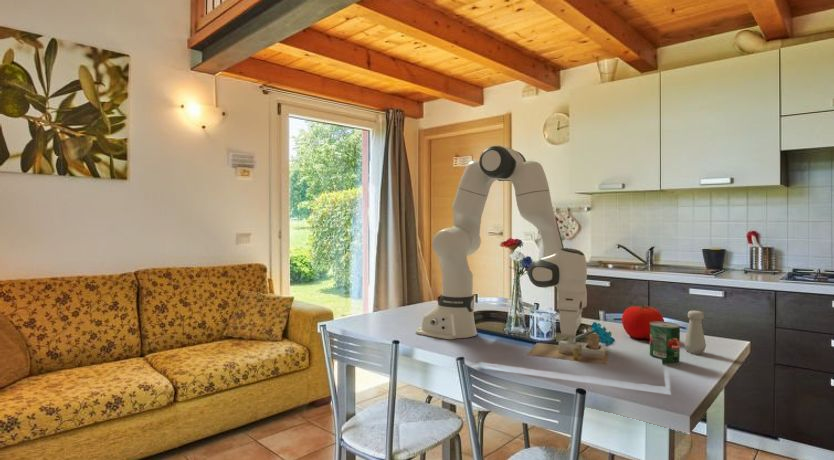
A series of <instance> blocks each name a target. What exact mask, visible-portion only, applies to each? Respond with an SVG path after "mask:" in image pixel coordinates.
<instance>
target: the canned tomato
mask: <svg viewBox="0 0 834 460" xmlns="http://www.w3.org/2000/svg"><path fill="white" fill-rule="evenodd" d="M680 332H681V325H680V324H678V323H675V322H670V321H664V322H662V321H655V322H650V338H649V356H650V357H652V358H655V359H659V360H661V362H662V363H661V364H662V365H666V366H676V365H680V363H681V362H680V357H681V356H680V355H681V353H680V352H681V351H680V349H681V348H680V347H681V346H680V345H681V339H680V338H681V333H680Z"/></svg>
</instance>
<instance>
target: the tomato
mask: <svg viewBox="0 0 834 460" xmlns="http://www.w3.org/2000/svg"><path fill="white" fill-rule="evenodd" d="M655 321H662V322H665V319H664V317H663V315H662V314H661V312H660V311H659V310H658V309H656V308H654V307H652V306H648V305H644V304H642V305H634V306H628V308H625V310H624V311H623V314H622V315H621V324H622V327H623V329H624V331H625V332H626V333H627V335H629V337H631V338H634V339H639V340H642V339H644V340H645V339H650V322H655Z"/></svg>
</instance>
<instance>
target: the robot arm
mask: <svg viewBox="0 0 834 460" xmlns="http://www.w3.org/2000/svg"><path fill="white" fill-rule="evenodd" d="M495 181H499V182H504V181H505V182H506V181H507V182H511V183H512V185H513V188H514V195H515V201H516V205H517V206H516V207H517V209H518V211H519V214H520V216H521V217H522V218H523V219H524V221H527V222H529V223H530V224H531V225H533V226H534V227H535V228H536V229H537V230H538V232H539V233H540V234H539V235H540V237H541V241H542V245H543V249H544V254H545V257H540V258H537V259H535V260H533V261H532V262H531V263H530V264H529V266H528V269H527V275H528V279H529V281H530V282H531V284H533V286H535V287H538V288H542V289H546V288H552V287H555V288H556V294H557V295H556V296H557V297H556V302H557V305H556V308H557V310H559V311H558V313H559V327H560V328H559V329H560V333H561V336H564V337H567V341H571V342H576V336H577V331H578V329H579V327H580V326H581V324H582V312H583V309H584V308H586V307H587V306H588V305H587V304H588V303H587V302H588V300H587V299H588V298H587V297H588V290H587V287H586V282H587V278H588V269H587V260H586V256H585V254H584V252H583V251H581V250H578V249H575V248H569V247H564V243H563V240H562V235H561V232H560V228H559V224H558V220H557V218H556V214H555V211H554V207H553V202H552V198H551V193H550V186H549V182H548V179H547V175H546V173H545V170H544V168H543V165H542V164H541V163H540V162H537V161H536V160H535V161H534V160H526V158H525V156H524V155H523V154H522V153H520V152H519V151H517V150H516V149H515V150H514V149H513V148H510V147H505V146H501V145H491V146H489V147H487V148H486V149H484V150H483V151H482V152H481V154H480V156H479V159H478V160H472V161H470V162H468V164H467V165H466V166H465V169H464V171H463V173H462V175H461V178H460V180H459V183H458V186H457V190H456V193H455V197H454V198H453V203H452V206H451V209H452V213H453V223H452V226H451V227H446V228H443V229H441V230H438V232H436V233H435V234H434V236H433V237H432V241H431V247H432V250H433V252H434V253H435V254H436V256H437V259H438V261H439V262H438V263H439V266H440V270H441V285H442V286H441V289H442V290H441V291H442V293H441V294H440V295H438V296H437V297H436V298H435V301H437V305H436V306H434V307H432V309H430V310H429V311H427V312H426V313H425V314H423V317H422V321H421V326H418V327H417V328H416V329H415V334H417V335H421V336H428V337H435V338H439V339H444V340H454V339H455V340H456V339H463V338H464V339H465V338H466V339H467V338H471V337H474V336H477V335H478V330H477V328H476V323H475V317H474V310H475V309H474V308H475V297H474V295H473V293H474V292H473V289H474V287H473V285H474V284H473V283H474V282H473V281H474V279H473V278H474V277H473V276H474V275H473V273H472V271H471V269H470V265H469V262H468V257H467V256H469V257H470V255H473V254H474V253H475V252H477V251H478V249H479V248H480V247H481V243H482V240H481V236H480V234H481V223H482V216H483V213H484V210H485V206H486V203H487V199H488V196H489V193H490V189H491V187H492V185H493V183H494V182H495Z"/></svg>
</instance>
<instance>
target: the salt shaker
mask: <svg viewBox="0 0 834 460" xmlns="http://www.w3.org/2000/svg"><path fill="white" fill-rule="evenodd" d="M687 318H688V319H689V322H688V326H687V331H686V335H685V339H684V347H685V349H686V351H687V353H690V354H691V355H692V354H693V355H702V354H703V353H704V352H705V349H706V347H707V345H706V339H705V334H704V328H703V324H702V320H703V319H704V312H702V311H699V310H689V311H688V312H687Z"/></svg>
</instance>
